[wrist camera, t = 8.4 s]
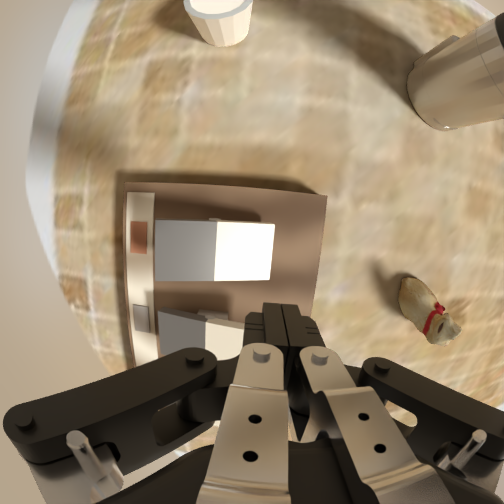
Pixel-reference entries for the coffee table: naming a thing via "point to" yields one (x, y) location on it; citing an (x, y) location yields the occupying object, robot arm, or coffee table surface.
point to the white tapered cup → (220, 19)
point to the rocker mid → (199, 333)
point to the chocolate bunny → (426, 312)
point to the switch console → (216, 292)
